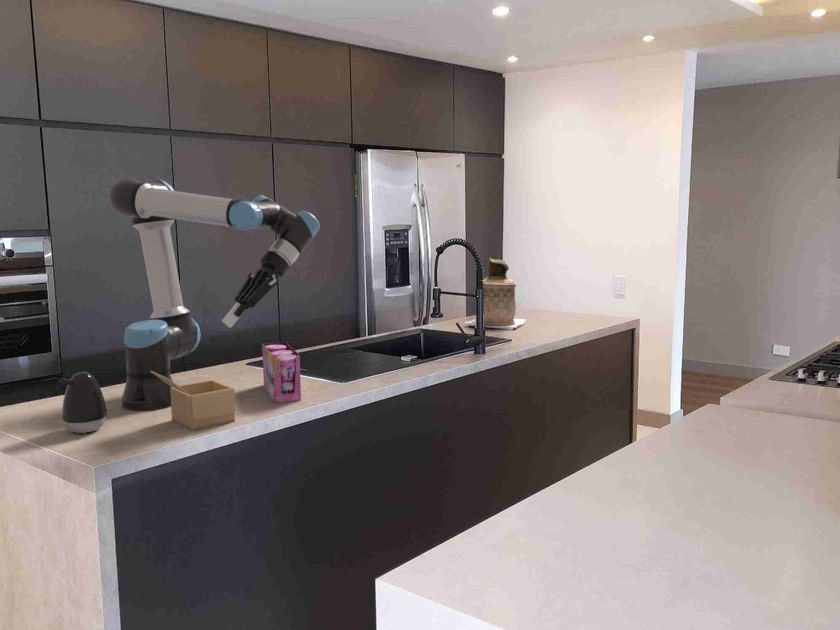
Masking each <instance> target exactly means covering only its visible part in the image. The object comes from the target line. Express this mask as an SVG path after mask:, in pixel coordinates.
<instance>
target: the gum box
mask: <svg viewBox="0 0 840 630" xmlns="http://www.w3.org/2000/svg"><path fill="white" fill-rule="evenodd" d="M261 347H262V349H261V350H262V375H263V386H264V388H265V389H266V390H267V392H268V393H269V396H270V395H271V396H270V397H271V399H272V400H273V401H274V403H275V402H276V403H287V402H286V401H288V402H297V401H299V400H300V401H302V388H301V387H302V386H301V385H302V384H301V361H300V358H301V357H300V354H299V352H298V351H296V350H295V349H293V347H291V346H290V345H289V344H288V342H287V341H282V342H267V343H266V342H265V343H262V346H261Z"/></svg>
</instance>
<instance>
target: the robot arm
mask: <svg viewBox="0 0 840 630" xmlns="http://www.w3.org/2000/svg"><path fill="white" fill-rule="evenodd" d="M108 201H109V204H110V207H111V209H112V210H113V211H114V212H115V213H116V214H117V215H119V216H121V217H124V218H128V219H131V224H132V227H133V228H135V229H136V230H137V231H138V232H139V236H140V240H141V241H140V242H141V248H142V253H143V258H144V264H145V269H146V275H147V276H146V277H147V279H148V285H149V286H148V287H149V291H150V298H151V302H152V308H153V311H152V313H151V315H150V316H149V319H146V320H141V321H136V322H133V323H130V324H129V325H127V327H125V330H124V339H123V343H124V353H125V365H126V381H125V386H124V389H123V392H122V397H121V405H122V407H123V408H124V409H126V410H132V411H148V410H149V411H151V410H158V409H163V408H167V407H171V391H170V387H171V386H169V385H168V384H167V383H165V382H164V381H163V380H161V379H160V378H158V377H157V376H156V375H154V374H153V373H151V372H150V371H153V372H155V373H157V374H160V375H162V376H164V377H166V378H169V379H170V380H171V381H173V378H172V376H171V375H172V374H171V362H170V361H172V360H175V359H178V358H183V357H185V356H187V355H189V354H190V353H192V352H194V350H195V349H196V348H197V347H198V346H199V343H200V341H201V329H200V328H201V327H200V325H199V324H198V322H197V321H195V320H194V319H193V318H192V316H191V313H190V312H191V311H190V310H189V309H188V308H187V307H185V306H184V302H183V301H184V300H183V296H182V290H181V284H180V280H179V273H178V267H177V263H176V256H175V251H174V245H173V240H172V238H173V237H172V235H171V227H172V225H173V224H174V222H175V220H180V221H186V222H195V223H202V224H208V225H215V226H224V227H228V228H229V227H231V228H236V229H238V230H241V231H247V232H248V231H254V230H267V229H268V230H269V231H271V232H272V233H274V234H276V236H278V238H276V240H275V241H274V243H272V245H271V246H270V247H269V248H268V249H269V250H268V251H266V252H265V254H264V255H263V256H262V257H261V259H260V264H261V267H260V268H258V270H256V272H255V273H254V274H253V273H251V272H250V273H249V274H248V275H247V278H246V280H245V281H244V283H243V285H242V286H241V288H240V289H239V291H238V292H237V294H236V296H235V297H234V298H233V299H234V301H235V303H234V304H233V306H232V307H231V308H230V310H229V311H228V313H227V314H226V315H225V316H224V317H223V318H222V319H221V322H222V323H223V324H224V325H225V326H226V327H227V328H233V326H234V325H235V324H236V322H237V321H238V320H239V319H240V317H241V316H242V315H243V313H245V311H246V310H248V309H249V308H250V309H251V308H254V307H255V306H256V305H257V304H258V303H259V302H260V301H261V300H262V299H263V298H264V297H265V296H266V295H267V294H268V293H269V292H270V291H271V289H273V288H274V287H276V285H278V283H279V282H278V280H276V278H282V277H284V275H285V274H286V273H287V272H288V271H289V269H290V267H291V266H292V265H293V264H294V263H295V262H297V259H298V257H299V256H300V255H301V254H302V253H303V252H304V250H305V248H306V247H307V246H308V245H309V244H310V243H311V241H312V240H314V238H315V236H316V235H317V233H318V232H319V230H320V228H321V225H320V222H319V220H318V219H317V218H316V216H315V215H314V214H312V213H311V212H309V211H306V210H300V211H299V212H298V213H297V214H296V213H293V212H291V211H290V210H288V209H287V208H285V207H283V206H282V205H280V204H279V203H277V202H276V201H274V200H273V199H272V198H269V197H267V196H265V195H263V194H259V195H257V197H255V198H254V199H252V200H251V201H250V200H242V199H234V198H228V197H222V196H221V197H220V196H214V195H208V194H207V195H206V194H198V193H192V192H184V191H178V190H177V191H175V189H174V187H172V186H171V184H170V183H168V182H166V181H165V180H163V179H159V178H155V177H139V176H138V177H137V176H135V177H133V176H126V177H122V178H119V179H117V180H116V181H115V182H113V184H112V185H111V187H110V189H109V192H108Z"/></svg>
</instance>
